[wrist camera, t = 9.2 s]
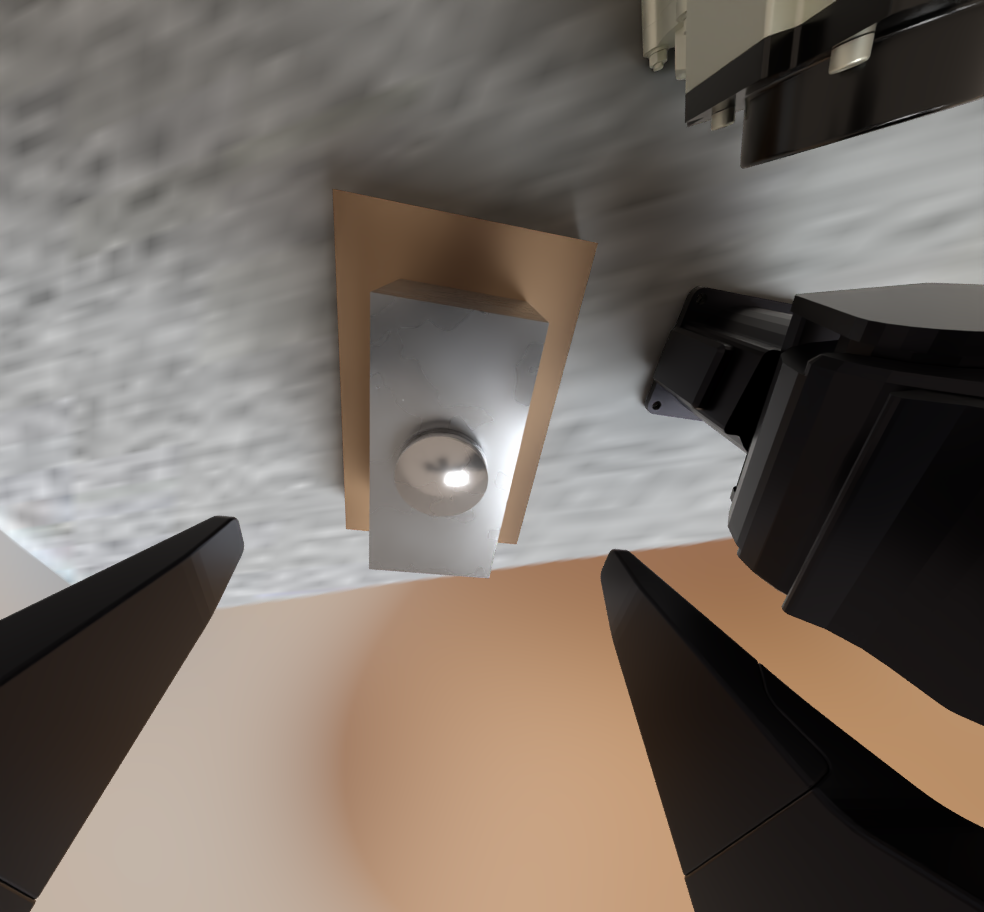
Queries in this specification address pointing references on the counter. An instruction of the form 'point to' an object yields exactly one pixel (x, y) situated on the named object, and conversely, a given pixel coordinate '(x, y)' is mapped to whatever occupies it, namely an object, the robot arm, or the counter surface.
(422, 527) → the housing
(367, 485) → the walnut stand
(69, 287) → the counter surface
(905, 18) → the pneumatic valve
